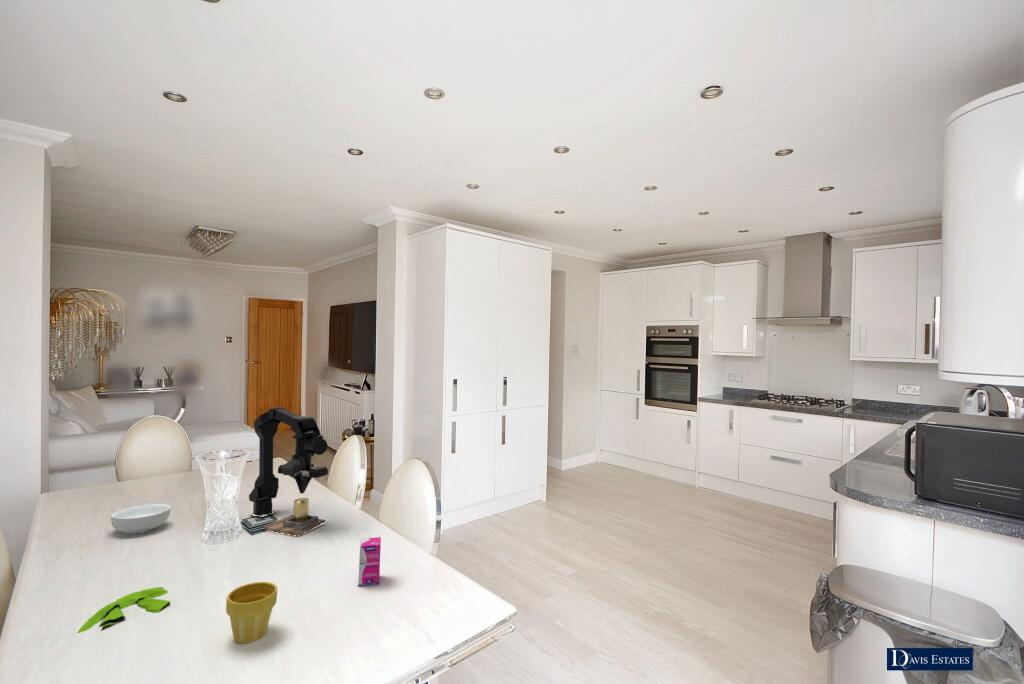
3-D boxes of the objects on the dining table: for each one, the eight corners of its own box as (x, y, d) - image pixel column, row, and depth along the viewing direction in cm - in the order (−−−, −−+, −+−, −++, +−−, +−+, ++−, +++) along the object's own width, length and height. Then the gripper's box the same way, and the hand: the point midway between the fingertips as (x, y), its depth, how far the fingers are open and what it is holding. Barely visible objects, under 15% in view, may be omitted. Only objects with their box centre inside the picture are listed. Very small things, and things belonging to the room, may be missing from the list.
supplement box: (358, 587, 129) (359, 545, 129) (359, 577, 135) (360, 537, 135) (379, 584, 130) (380, 544, 131) (379, 575, 136) (380, 536, 137)
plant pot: (283, 621, 112) (285, 580, 112) (262, 648, 101) (264, 603, 102) (240, 621, 111) (242, 580, 112) (214, 648, 101) (216, 603, 101)
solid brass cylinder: (290, 525, 170) (290, 501, 170) (300, 521, 175) (300, 497, 175) (301, 527, 168) (301, 502, 169) (311, 522, 173) (311, 498, 173)
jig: (262, 530, 168) (262, 521, 168) (291, 518, 182) (292, 509, 182) (297, 537, 163) (297, 527, 163) (324, 523, 176) (325, 514, 177)
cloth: (167, 584, 130) (167, 575, 130) (192, 613, 116) (192, 603, 116) (67, 614, 114) (68, 604, 114) (82, 652, 100) (82, 641, 100)
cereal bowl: (181, 523, 174) (181, 504, 175) (141, 540, 158) (142, 519, 158) (140, 520, 176) (141, 502, 176) (96, 537, 160) (98, 517, 160)
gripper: (266, 453, 168) (264, 496, 167) (307, 457, 162) (306, 502, 161) (290, 447, 178) (288, 488, 178) (329, 451, 172) (328, 493, 172)
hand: (302, 493), depth 172 cm, fingers closed
